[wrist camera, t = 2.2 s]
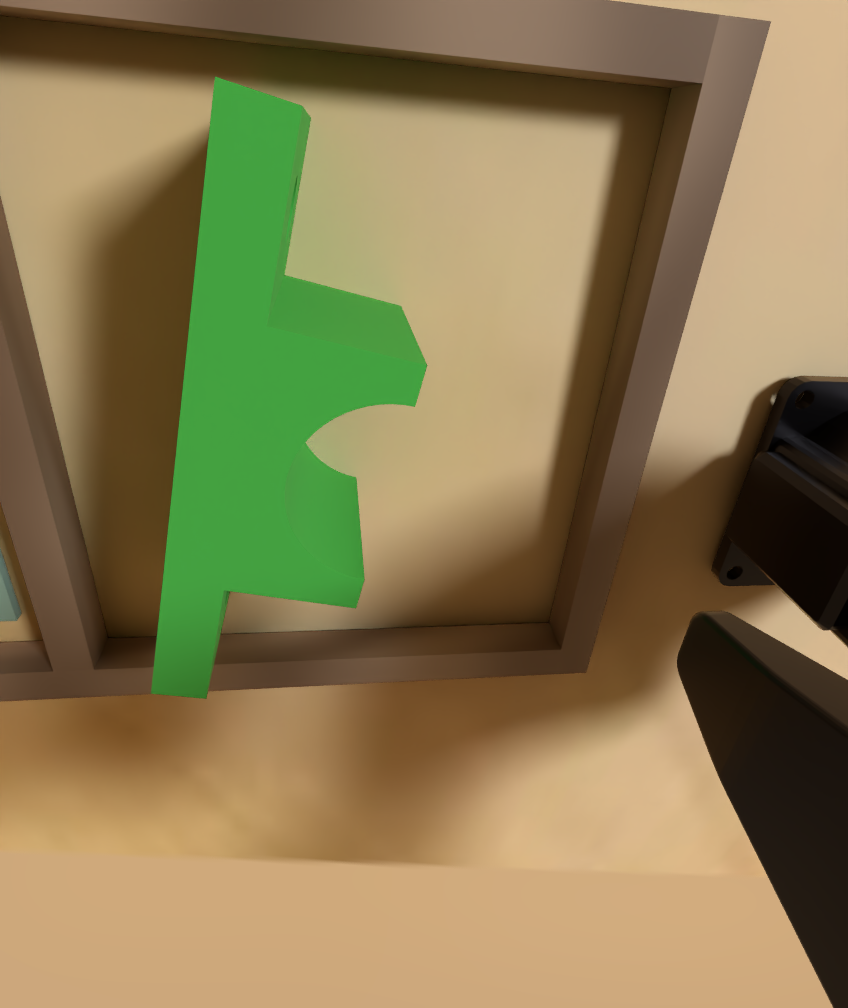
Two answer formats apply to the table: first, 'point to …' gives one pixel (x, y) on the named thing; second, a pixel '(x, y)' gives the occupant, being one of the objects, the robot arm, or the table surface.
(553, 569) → the table surface
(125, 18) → the sorting frame
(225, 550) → the pipe clamp
